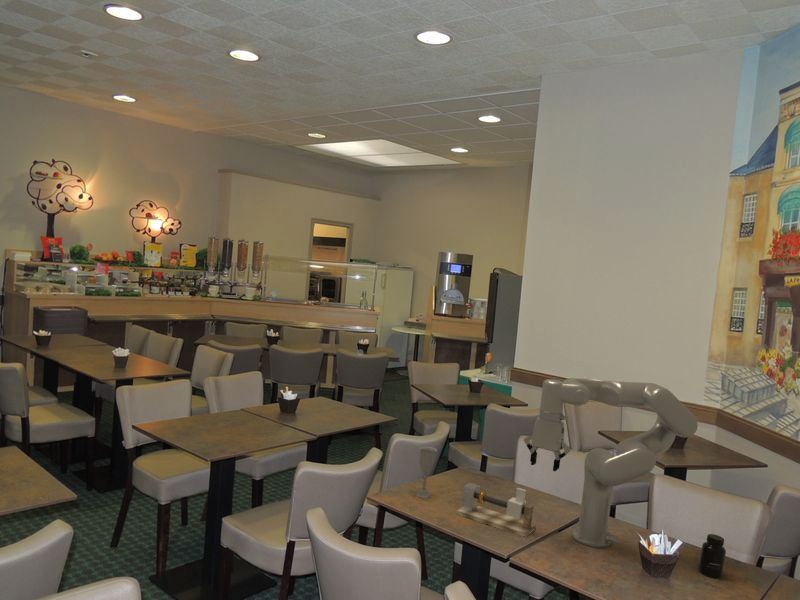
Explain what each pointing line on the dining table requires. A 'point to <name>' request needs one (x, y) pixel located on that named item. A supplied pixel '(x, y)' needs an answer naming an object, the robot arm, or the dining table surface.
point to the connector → (471, 497)
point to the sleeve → (516, 504)
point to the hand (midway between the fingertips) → (544, 467)
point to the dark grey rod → (495, 501)
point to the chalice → (426, 467)
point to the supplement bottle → (712, 556)
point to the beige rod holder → (502, 519)
